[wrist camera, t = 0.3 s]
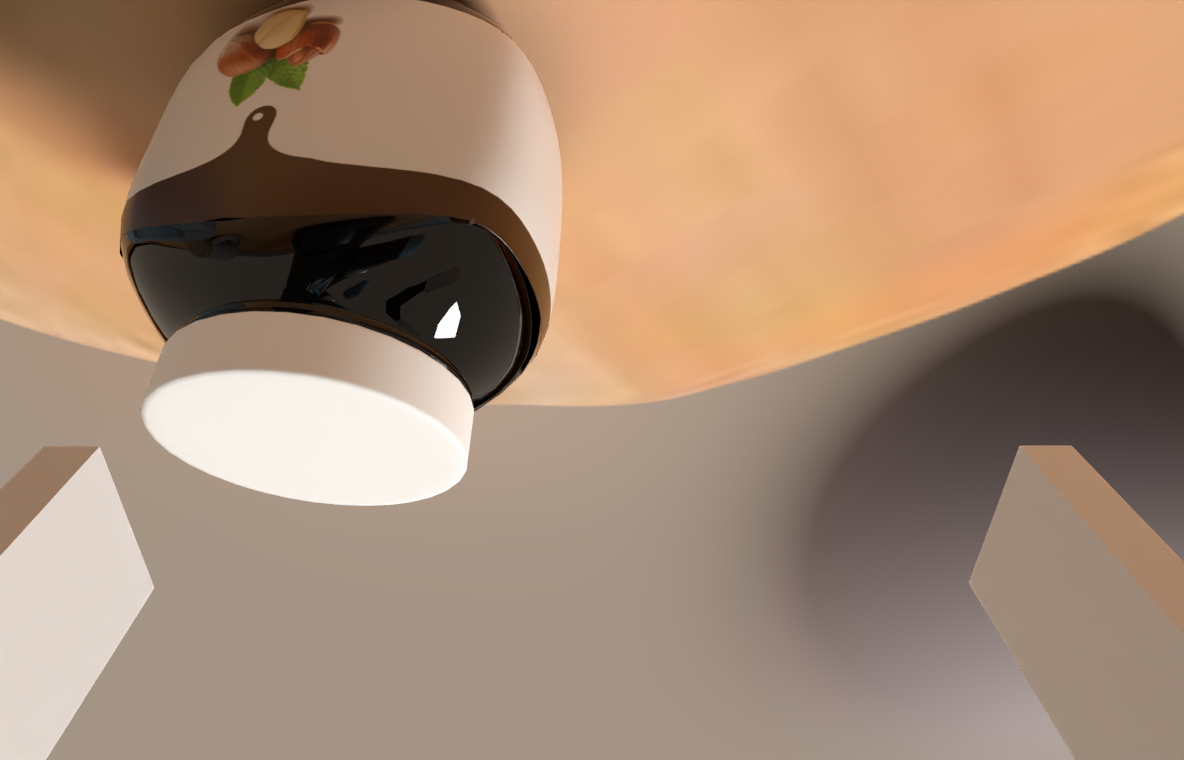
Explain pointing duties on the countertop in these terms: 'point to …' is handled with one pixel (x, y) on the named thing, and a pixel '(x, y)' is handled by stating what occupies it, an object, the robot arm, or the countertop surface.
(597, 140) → the countertop surface
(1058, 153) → the countertop surface
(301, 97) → the spread jar
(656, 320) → the countertop surface
